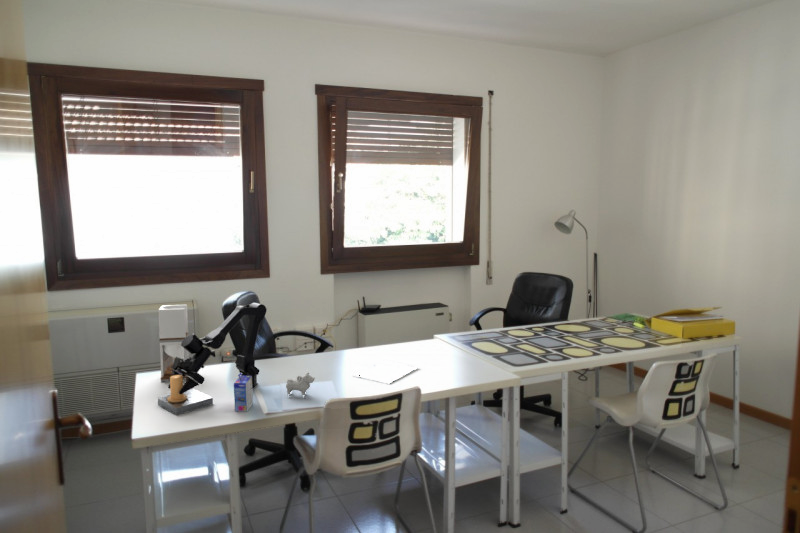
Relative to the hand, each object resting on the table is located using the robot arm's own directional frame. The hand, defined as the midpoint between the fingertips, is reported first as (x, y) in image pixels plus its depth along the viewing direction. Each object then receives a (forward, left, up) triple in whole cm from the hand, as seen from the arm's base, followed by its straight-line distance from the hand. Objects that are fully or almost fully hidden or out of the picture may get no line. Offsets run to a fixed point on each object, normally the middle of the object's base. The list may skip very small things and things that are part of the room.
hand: (174, 391), depth 217 cm
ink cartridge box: (-28, -6, -7) cm, 29 cm away
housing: (-3, -4, -7) cm, 9 cm away
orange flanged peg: (-1, -1, -7) cm, 7 cm away
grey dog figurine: (-47, -23, -7) cm, 52 cm away
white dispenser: (+20, -35, -7) cm, 41 cm away
